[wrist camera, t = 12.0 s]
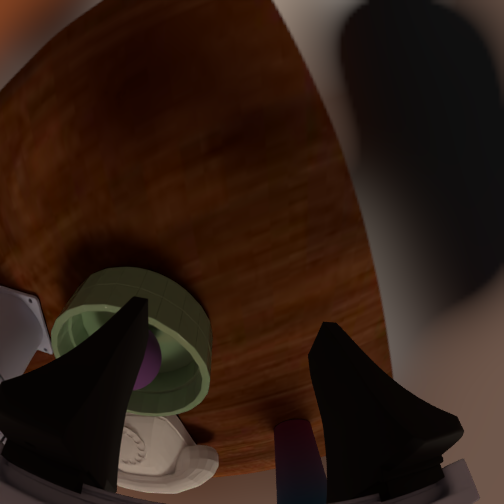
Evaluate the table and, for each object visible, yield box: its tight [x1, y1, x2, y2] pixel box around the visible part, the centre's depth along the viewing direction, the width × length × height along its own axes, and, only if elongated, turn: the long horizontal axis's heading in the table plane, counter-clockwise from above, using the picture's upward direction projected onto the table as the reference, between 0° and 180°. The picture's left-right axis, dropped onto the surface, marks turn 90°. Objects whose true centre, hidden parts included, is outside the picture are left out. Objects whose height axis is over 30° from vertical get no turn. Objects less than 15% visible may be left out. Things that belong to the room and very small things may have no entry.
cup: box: [274, 419, 327, 504], centre depth 27 cm, size 7×7×15 cm
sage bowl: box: [51, 267, 213, 417], centre depth 22 cm, size 13×13×6 cm
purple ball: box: [133, 330, 162, 390], centre depth 21 cm, size 6×6×6 cm
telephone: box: [117, 412, 218, 494], centre depth 29 cm, size 16×20×9 cm
